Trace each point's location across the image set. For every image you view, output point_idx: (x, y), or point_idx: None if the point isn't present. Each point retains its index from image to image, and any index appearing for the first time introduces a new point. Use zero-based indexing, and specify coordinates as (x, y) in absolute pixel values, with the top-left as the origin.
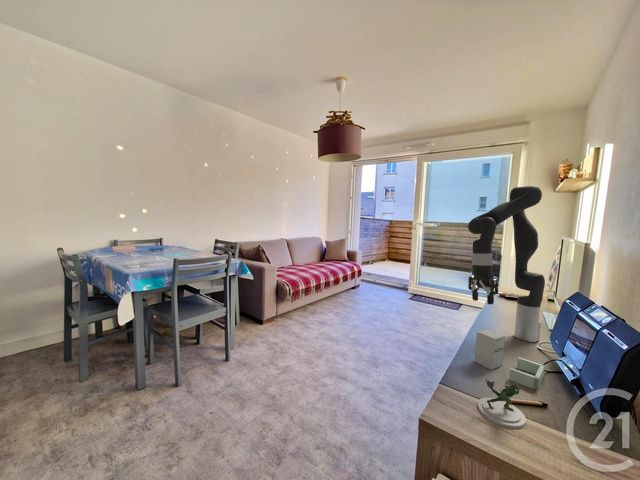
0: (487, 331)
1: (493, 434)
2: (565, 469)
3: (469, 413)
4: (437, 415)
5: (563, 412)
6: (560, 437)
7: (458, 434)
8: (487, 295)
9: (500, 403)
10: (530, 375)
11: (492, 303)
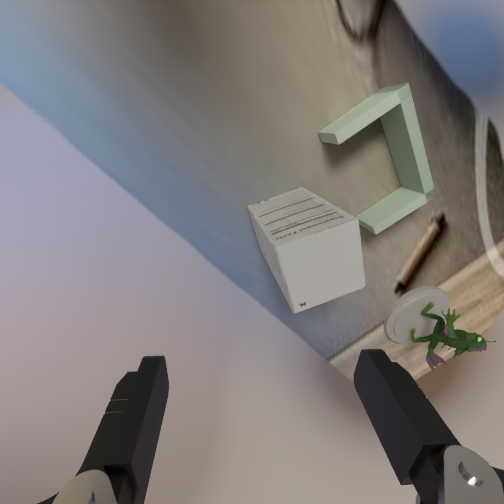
0: (301, 268)
1: None
2: (500, 305)
3: (395, 355)
4: None
5: (469, 204)
6: (483, 267)
7: None
8: (403, 480)
9: (412, 312)
10: (417, 204)
11: (380, 357)
